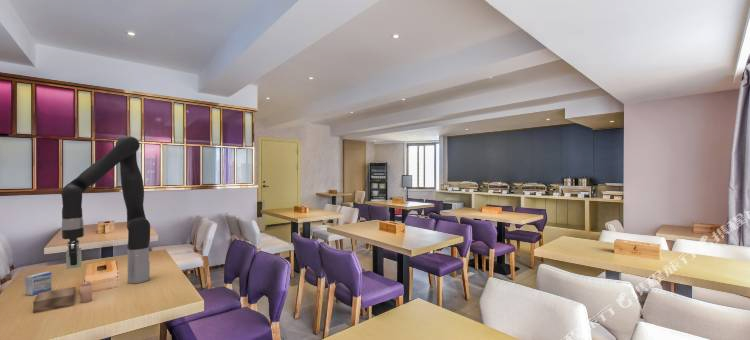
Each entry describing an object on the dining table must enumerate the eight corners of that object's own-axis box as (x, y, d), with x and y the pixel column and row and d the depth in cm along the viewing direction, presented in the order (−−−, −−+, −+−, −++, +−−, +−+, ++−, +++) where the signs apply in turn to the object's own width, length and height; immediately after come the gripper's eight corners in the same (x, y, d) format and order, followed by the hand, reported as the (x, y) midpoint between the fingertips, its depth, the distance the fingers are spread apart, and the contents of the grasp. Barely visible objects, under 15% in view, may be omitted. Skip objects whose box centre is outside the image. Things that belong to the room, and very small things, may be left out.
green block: (81, 264, 159) (81, 247, 159) (81, 266, 155) (80, 249, 155) (67, 266, 156) (66, 249, 156) (66, 269, 152) (65, 251, 152)
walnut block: (75, 297, 151) (75, 287, 151) (73, 306, 142) (73, 294, 142) (38, 304, 144) (38, 293, 144) (33, 314, 134) (33, 301, 134)
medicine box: (32, 295, 153) (32, 277, 153) (24, 295, 154) (24, 276, 154) (51, 289, 161) (51, 271, 161) (44, 289, 162) (44, 271, 162)
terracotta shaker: (92, 298, 150) (92, 279, 150) (91, 301, 146) (91, 281, 146) (80, 300, 147) (80, 280, 147) (79, 303, 144) (79, 283, 144)
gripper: (82, 228, 152) (84, 265, 152) (84, 224, 163) (85, 259, 163) (60, 231, 147) (61, 269, 147) (63, 226, 158) (64, 262, 159)
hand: (74, 263), depth 155 cm, fingers closed on green block, 5 cm apart
